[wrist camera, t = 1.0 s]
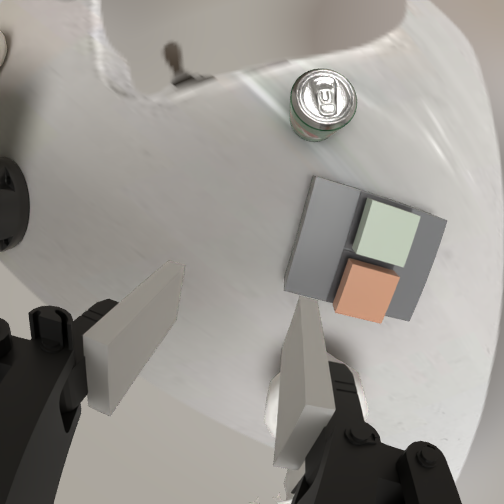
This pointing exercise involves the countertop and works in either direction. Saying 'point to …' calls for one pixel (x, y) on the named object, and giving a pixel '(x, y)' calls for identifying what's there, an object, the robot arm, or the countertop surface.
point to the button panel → (341, 241)
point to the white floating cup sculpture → (271, 424)
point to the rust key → (365, 291)
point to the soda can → (321, 104)
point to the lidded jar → (2, 48)
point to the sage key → (385, 233)
